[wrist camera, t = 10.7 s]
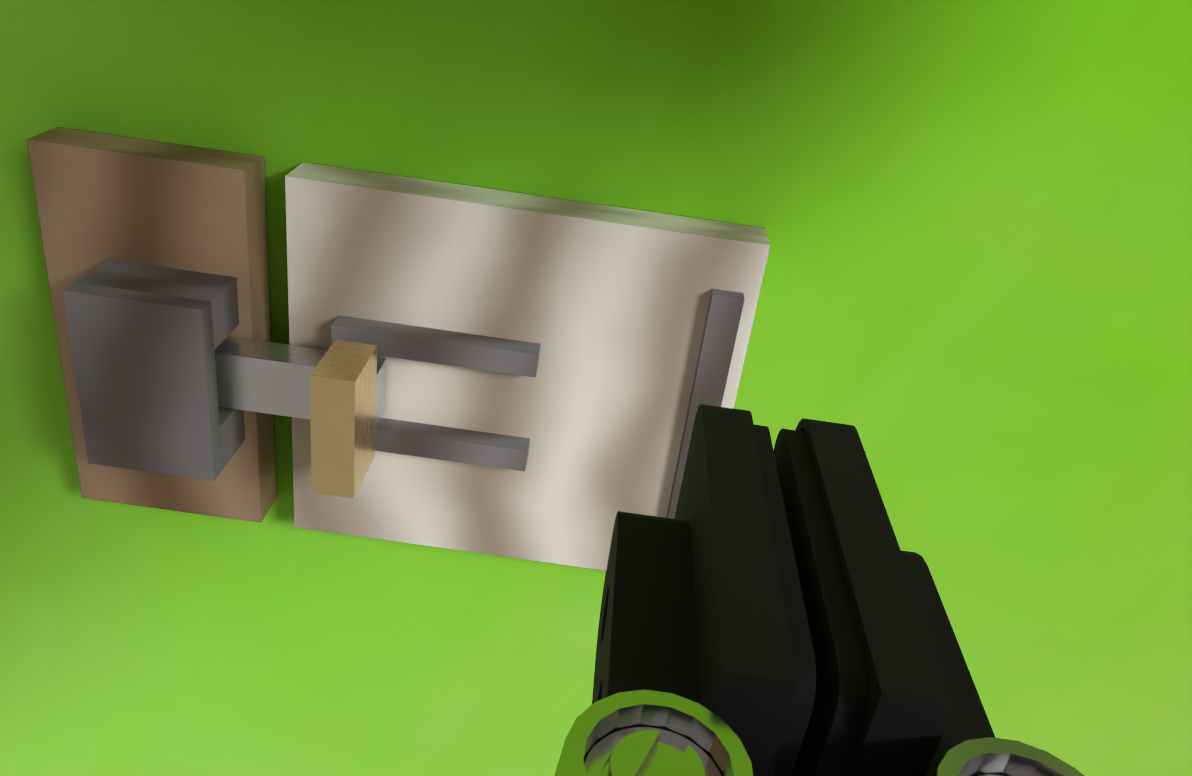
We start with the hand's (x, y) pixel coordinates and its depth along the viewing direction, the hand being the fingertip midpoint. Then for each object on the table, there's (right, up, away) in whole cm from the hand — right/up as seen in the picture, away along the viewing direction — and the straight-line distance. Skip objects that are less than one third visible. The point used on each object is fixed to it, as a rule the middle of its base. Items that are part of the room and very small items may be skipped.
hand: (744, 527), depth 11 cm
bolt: (-15, +2, +28) cm, 32 cm away
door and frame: (-10, +3, +30) cm, 32 cm away
